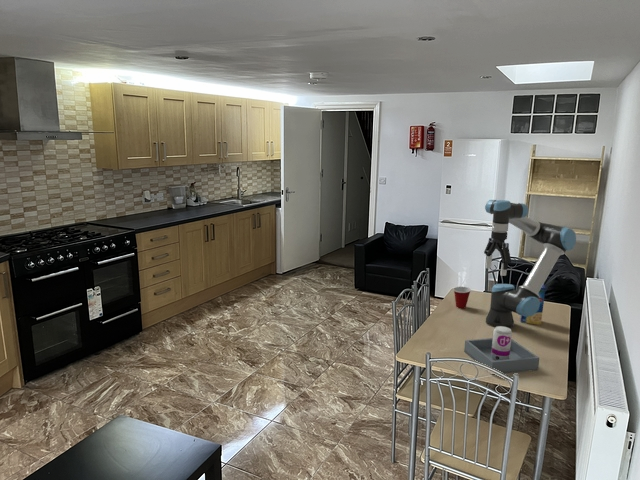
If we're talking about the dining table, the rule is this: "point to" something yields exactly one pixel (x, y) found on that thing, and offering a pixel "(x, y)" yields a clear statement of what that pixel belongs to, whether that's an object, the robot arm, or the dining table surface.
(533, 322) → the beverage box
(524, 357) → the tray
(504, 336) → the supplement can
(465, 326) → the dining table surface
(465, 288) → the plastic cup
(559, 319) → the dining table surface
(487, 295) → the dining table surface
